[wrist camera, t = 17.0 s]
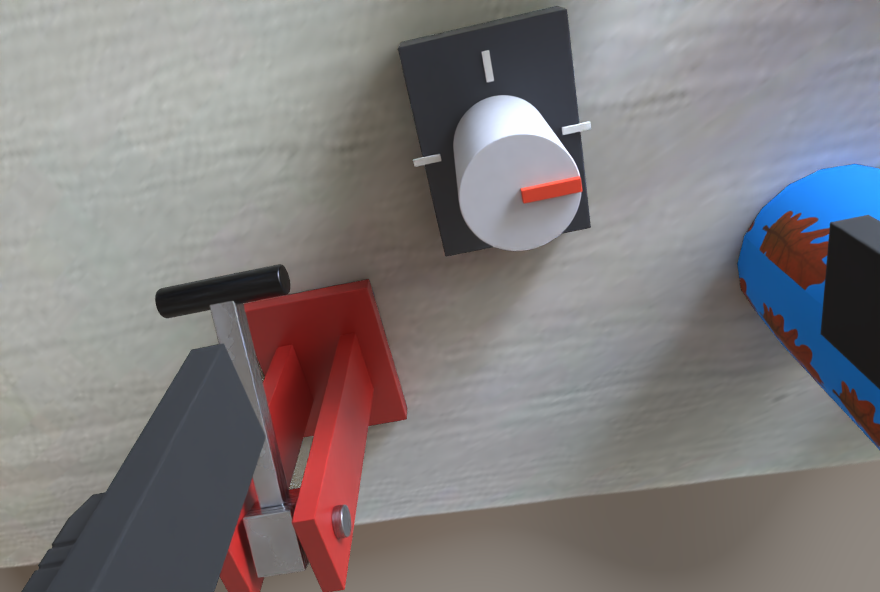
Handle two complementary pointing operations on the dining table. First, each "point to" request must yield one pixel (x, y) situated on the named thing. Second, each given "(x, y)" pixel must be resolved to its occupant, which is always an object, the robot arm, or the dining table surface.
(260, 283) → the lever
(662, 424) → the dining table surface
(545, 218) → the knob
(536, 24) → the dial panel
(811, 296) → the thermos
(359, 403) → the red lever stand
